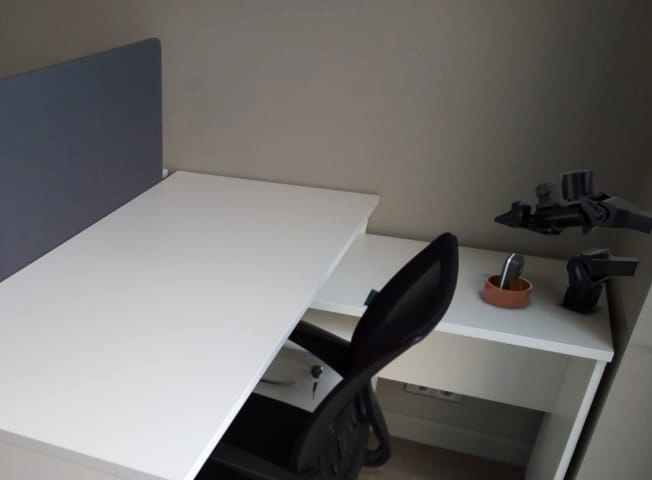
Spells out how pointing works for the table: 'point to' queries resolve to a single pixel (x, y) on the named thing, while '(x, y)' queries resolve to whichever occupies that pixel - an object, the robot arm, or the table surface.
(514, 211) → the robot arm
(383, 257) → the table surface
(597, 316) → the table surface
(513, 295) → the bowl
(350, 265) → the table surface
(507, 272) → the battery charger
